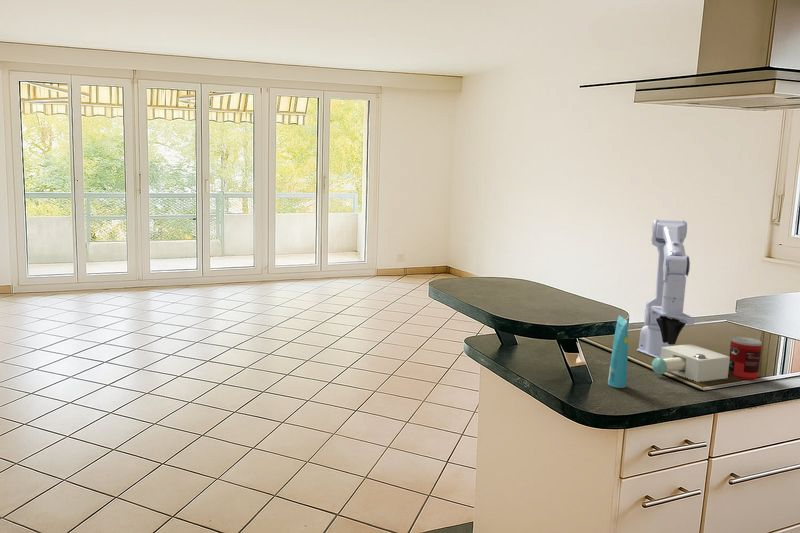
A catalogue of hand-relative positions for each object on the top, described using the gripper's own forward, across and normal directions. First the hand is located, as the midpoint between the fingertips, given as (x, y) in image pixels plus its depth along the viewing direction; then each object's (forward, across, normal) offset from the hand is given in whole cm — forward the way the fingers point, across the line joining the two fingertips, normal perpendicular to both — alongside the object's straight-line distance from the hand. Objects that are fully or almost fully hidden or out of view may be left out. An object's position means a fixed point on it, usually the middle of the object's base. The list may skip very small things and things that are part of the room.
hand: (668, 343), depth 179 cm
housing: (+10, 0, +10) cm, 14 cm away
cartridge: (+9, 0, +5) cm, 10 cm away
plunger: (+7, +5, +7) cm, 11 cm away
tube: (+10, +2, -20) cm, 22 cm away
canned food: (+10, +7, +22) cm, 26 cm away
